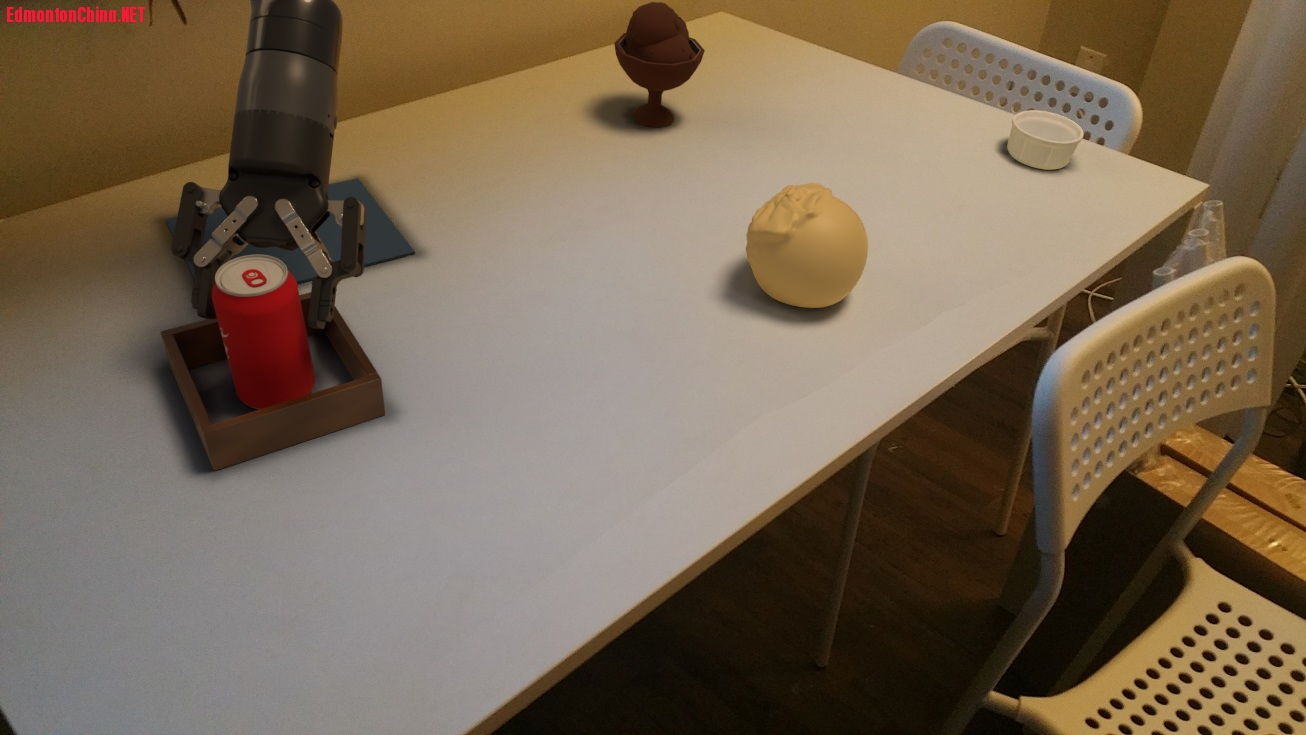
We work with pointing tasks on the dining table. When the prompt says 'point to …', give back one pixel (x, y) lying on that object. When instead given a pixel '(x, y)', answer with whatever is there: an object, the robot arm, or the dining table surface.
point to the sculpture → (807, 247)
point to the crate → (281, 420)
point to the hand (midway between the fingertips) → (261, 322)
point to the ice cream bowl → (657, 58)
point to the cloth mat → (327, 235)
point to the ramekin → (1043, 139)
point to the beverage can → (263, 330)
